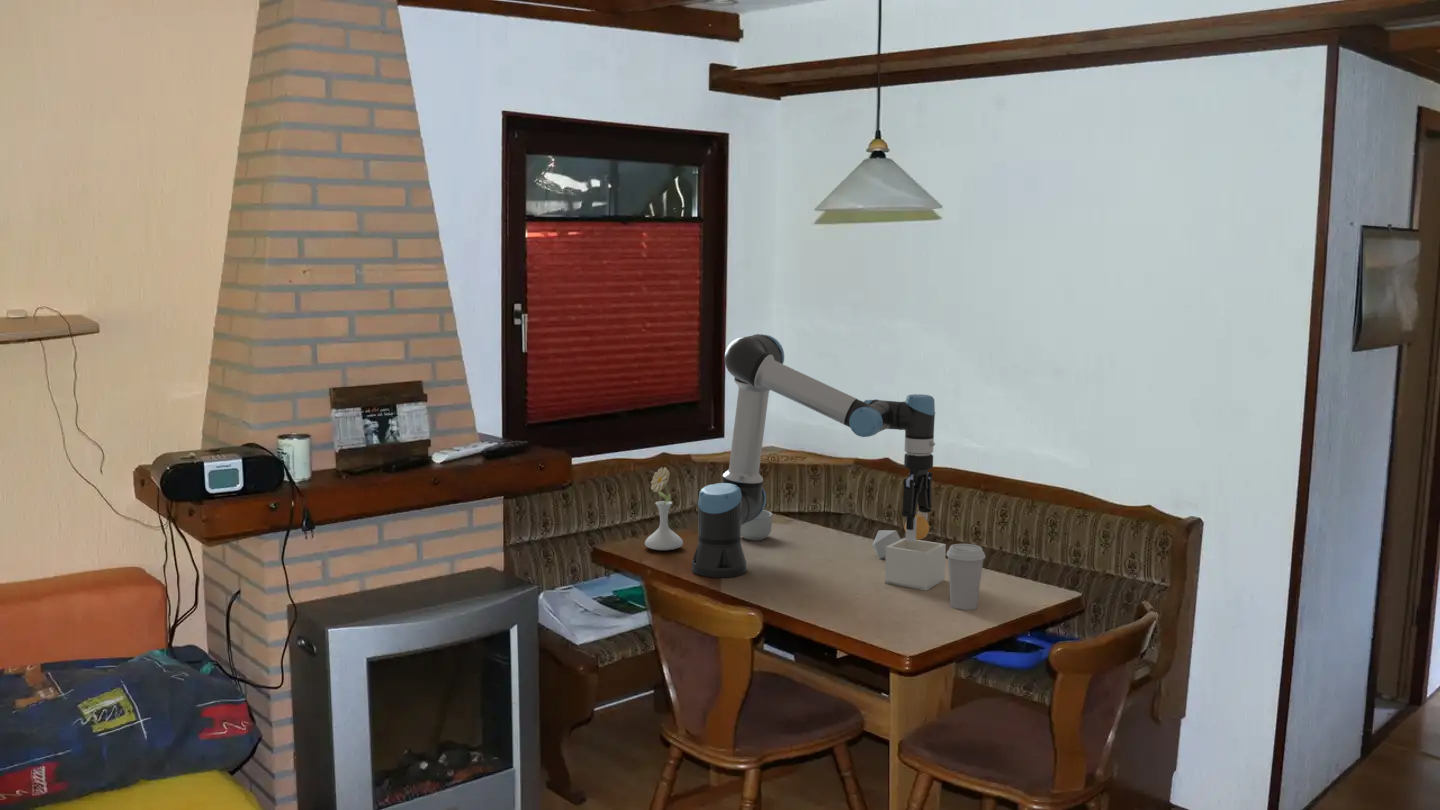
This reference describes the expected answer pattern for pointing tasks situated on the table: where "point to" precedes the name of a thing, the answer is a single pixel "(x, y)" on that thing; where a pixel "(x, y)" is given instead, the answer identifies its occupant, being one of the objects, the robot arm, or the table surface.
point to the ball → (920, 527)
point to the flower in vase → (663, 516)
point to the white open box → (915, 564)
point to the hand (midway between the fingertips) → (916, 538)
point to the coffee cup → (965, 575)
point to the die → (884, 541)
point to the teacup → (757, 527)
